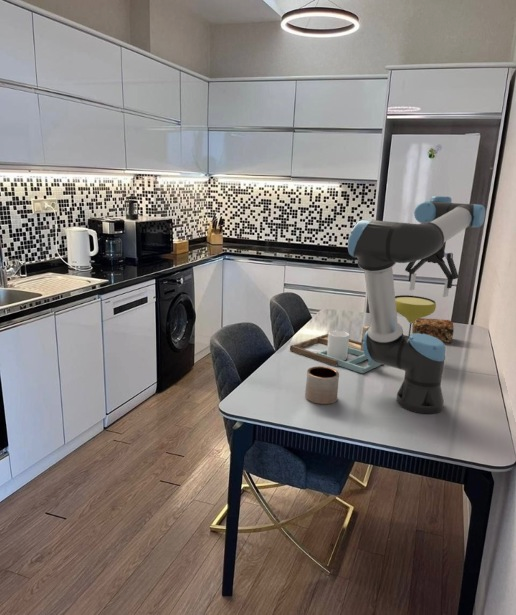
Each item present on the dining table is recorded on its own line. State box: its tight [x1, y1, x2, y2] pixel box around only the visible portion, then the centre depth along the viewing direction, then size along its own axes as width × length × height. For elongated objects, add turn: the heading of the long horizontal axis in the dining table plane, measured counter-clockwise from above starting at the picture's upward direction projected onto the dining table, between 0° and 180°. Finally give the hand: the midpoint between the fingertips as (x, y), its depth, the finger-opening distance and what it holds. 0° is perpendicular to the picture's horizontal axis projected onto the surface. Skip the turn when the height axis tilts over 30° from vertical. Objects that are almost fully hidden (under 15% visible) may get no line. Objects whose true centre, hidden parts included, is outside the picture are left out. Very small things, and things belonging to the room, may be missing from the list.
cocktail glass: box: [395, 294, 437, 337], centre depth 205 cm, size 18×18×25 cm
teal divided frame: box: [316, 347, 383, 374], centre depth 197 cm, size 17×22×12 cm
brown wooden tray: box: [289, 333, 363, 367], centre depth 210 cm, size 29×24×2 cm
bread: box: [411, 317, 455, 344], centre depth 233 cm, size 19×11×10 cm, turn 73°
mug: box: [326, 330, 350, 361], centre depth 202 cm, size 9×12×11 cm
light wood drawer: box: [324, 325, 371, 350], centre depth 215 cm, size 7×22×12 cm, turn 46°
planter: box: [304, 365, 340, 405], centre depth 161 cm, size 11×11×10 cm
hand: (428, 293), depth 184 cm, fingers open, 13 cm apart
